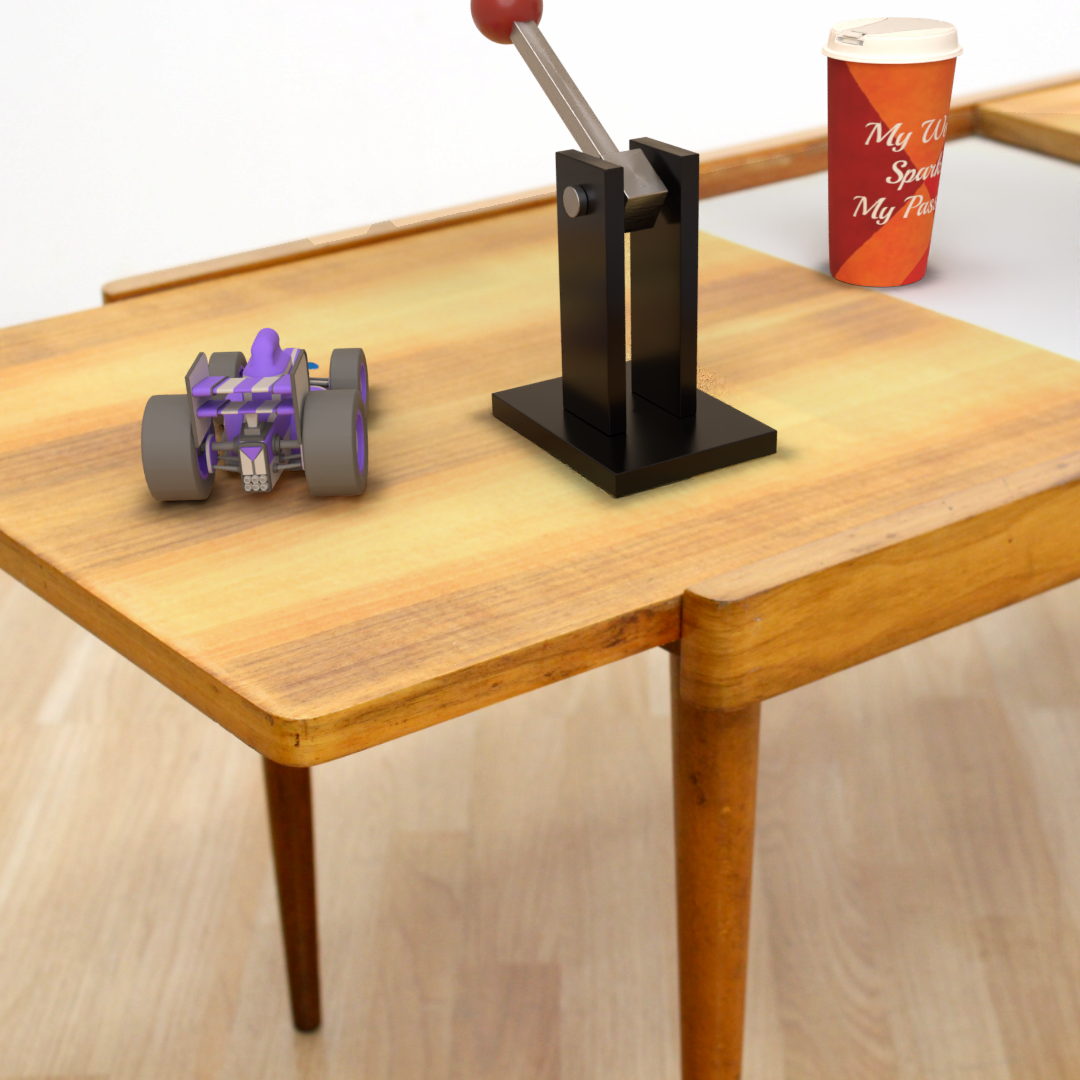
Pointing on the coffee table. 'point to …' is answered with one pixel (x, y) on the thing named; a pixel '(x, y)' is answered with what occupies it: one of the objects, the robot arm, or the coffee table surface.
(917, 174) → the coffee cup
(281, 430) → the toy race car
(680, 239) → the bracket
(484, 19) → the lever
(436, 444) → the coffee table surface
